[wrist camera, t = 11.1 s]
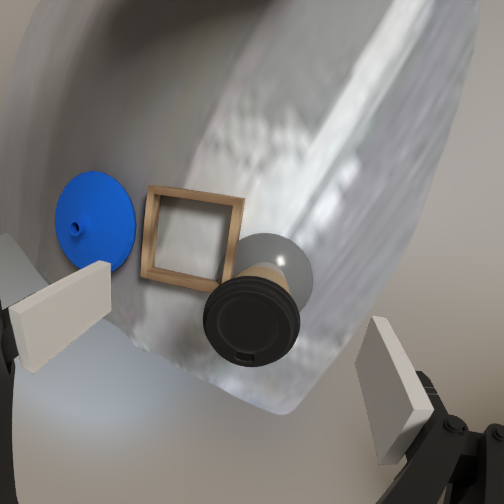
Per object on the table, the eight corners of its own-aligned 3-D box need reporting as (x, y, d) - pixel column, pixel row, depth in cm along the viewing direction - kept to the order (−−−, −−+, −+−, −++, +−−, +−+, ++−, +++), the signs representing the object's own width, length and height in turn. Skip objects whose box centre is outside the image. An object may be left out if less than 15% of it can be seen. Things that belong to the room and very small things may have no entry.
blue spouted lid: (119, 151, 42) (92, 148, 35) (161, 245, 44) (139, 256, 37) (55, 201, 45) (27, 205, 38) (91, 283, 47) (66, 297, 40)
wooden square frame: (155, 185, 42) (148, 185, 39) (245, 198, 41) (242, 199, 38) (147, 271, 45) (140, 276, 43) (231, 290, 44) (227, 296, 41)
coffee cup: (244, 321, 44) (221, 382, 29) (220, 260, 42) (181, 299, 28) (308, 301, 42) (312, 360, 27) (286, 237, 40) (280, 268, 26)
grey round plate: (226, 225, 42) (224, 226, 41) (321, 242, 41) (322, 244, 40) (214, 312, 45) (212, 314, 44) (301, 329, 44) (301, 332, 43)
